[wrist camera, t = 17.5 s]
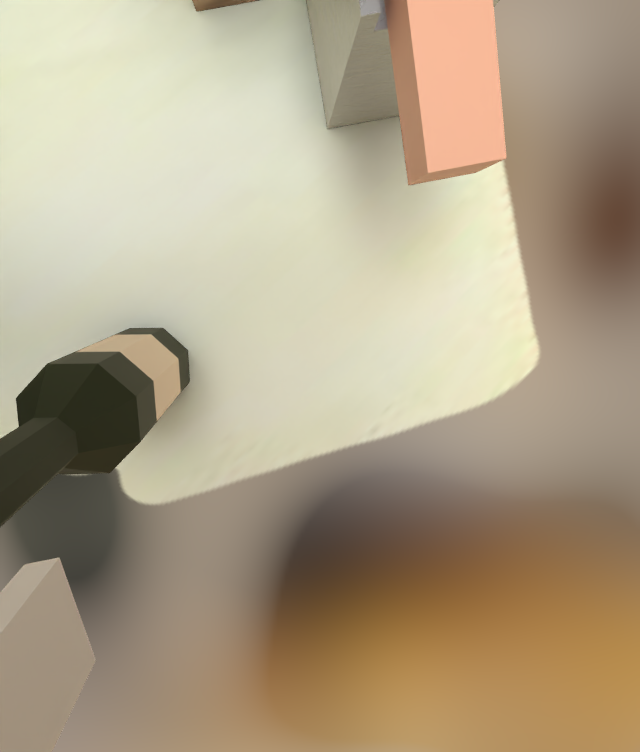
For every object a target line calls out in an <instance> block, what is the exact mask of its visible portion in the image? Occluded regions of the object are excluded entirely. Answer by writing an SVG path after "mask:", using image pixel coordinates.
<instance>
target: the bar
mask: <svg viewBox="0 0 640 752" xmlns="http://www.w3.org/2000/svg"><path fill="white" fill-rule="evenodd" d="M384 4H385V12H386V19H387V27H388V34H389V42H390V49H391V57H392V64H393V72H394V80H395V87H396V95H397V102H398V110H399V117H400V125H401V132H402V140H403V148H404V155H405V163H406V170H407V178H408V185H413V184H418V183H424V182H429V181H434V180H439V179H445V178H450V177H455V176H461V175H466V174H471V173H476V172H478V171H480V170H483V169H485V168H487V167H489V166H491V165H493V164H495V163H497V162H499V161H502V160H504V159H506V147H505V136H504V124H503V112H502V101H501V89H500V77H499V65H498V55H497V54H498V53H497V42H496V30H495V18H494V6H493V0H384Z"/></svg>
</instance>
